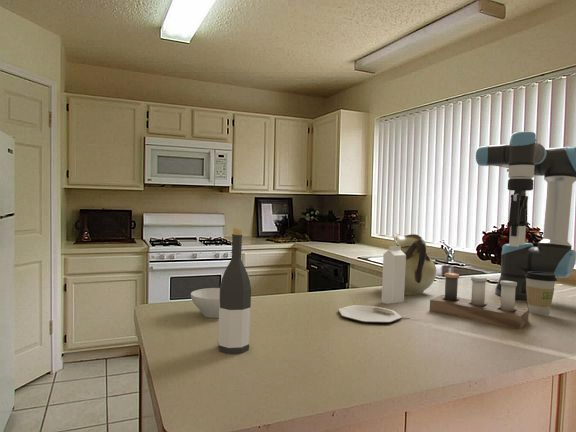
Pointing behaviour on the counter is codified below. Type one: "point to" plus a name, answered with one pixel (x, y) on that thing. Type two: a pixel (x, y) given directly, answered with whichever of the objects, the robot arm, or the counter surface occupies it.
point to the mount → (480, 312)
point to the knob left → (508, 295)
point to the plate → (368, 314)
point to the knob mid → (478, 290)
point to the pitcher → (416, 264)
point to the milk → (393, 275)
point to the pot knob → (451, 286)
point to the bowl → (207, 301)
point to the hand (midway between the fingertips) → (517, 245)
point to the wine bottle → (234, 303)
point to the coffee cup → (539, 291)
